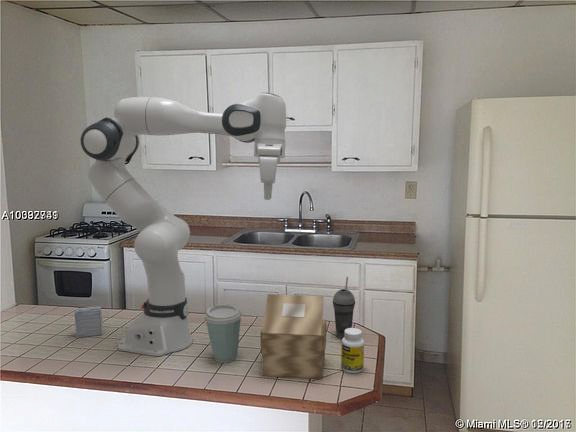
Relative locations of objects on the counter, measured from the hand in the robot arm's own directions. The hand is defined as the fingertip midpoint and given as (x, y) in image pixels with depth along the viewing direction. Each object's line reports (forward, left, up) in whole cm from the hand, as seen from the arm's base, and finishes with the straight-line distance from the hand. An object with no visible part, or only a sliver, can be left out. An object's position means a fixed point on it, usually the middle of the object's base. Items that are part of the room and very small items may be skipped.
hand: (267, 199), depth 140 cm
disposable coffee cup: (-12, -8, -46) cm, 48 cm away
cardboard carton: (+9, -11, -46) cm, 48 cm away
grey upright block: (-61, +4, -46) cm, 77 cm away
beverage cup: (+22, +12, -46) cm, 53 cm away
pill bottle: (+25, -10, -46) cm, 53 cm away
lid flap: (+9, -12, -30) cm, 34 cm away
